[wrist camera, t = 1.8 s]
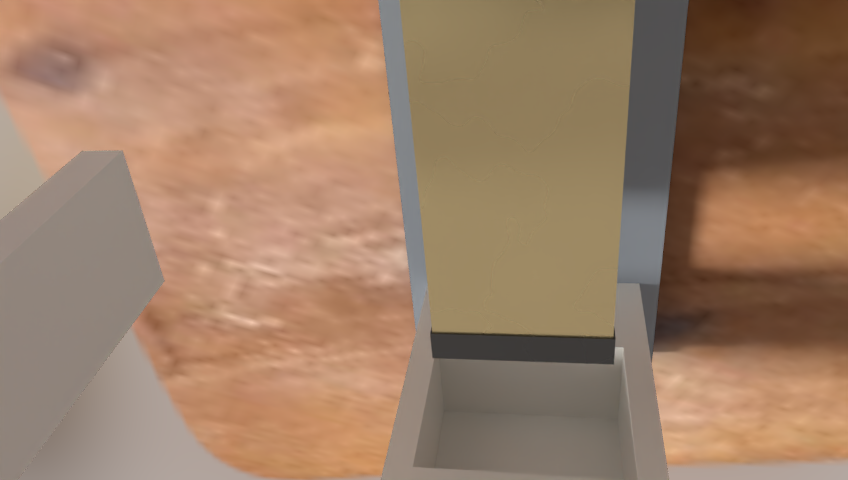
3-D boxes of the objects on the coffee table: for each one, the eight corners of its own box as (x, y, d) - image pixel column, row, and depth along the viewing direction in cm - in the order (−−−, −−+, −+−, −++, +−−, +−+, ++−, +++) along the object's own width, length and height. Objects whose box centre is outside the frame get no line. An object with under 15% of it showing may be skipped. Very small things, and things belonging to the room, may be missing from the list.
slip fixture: (326, -538, 17) (85, -833, 8) (742, -607, 16) (978, -1053, 7) (423, 348, 32) (370, 588, 23) (648, 356, 30) (686, 615, 21)
